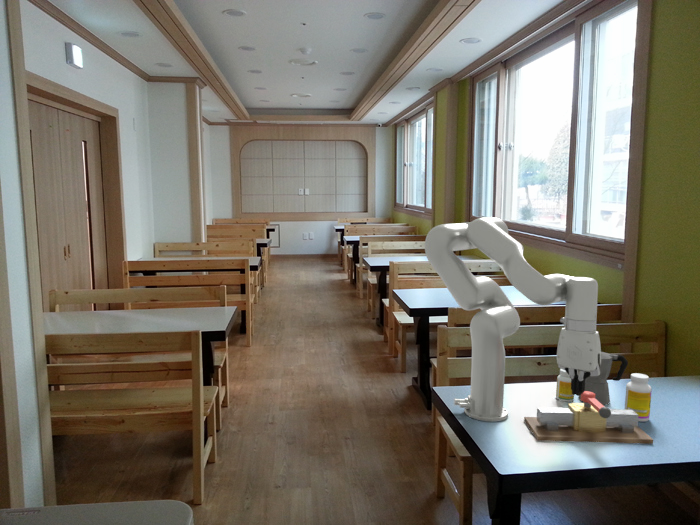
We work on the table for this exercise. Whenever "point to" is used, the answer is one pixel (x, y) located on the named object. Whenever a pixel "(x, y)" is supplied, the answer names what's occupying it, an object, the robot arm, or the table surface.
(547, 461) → the table surface
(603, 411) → the lever
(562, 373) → the supplement bottle
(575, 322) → the robot arm
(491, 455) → the table surface
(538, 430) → the plank
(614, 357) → the coffeepot
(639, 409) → the supplement bottle
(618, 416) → the valve
